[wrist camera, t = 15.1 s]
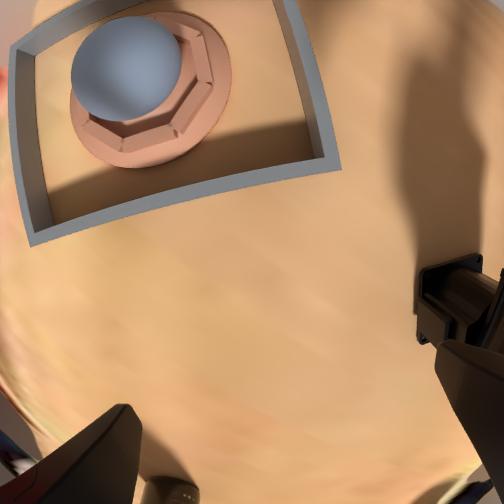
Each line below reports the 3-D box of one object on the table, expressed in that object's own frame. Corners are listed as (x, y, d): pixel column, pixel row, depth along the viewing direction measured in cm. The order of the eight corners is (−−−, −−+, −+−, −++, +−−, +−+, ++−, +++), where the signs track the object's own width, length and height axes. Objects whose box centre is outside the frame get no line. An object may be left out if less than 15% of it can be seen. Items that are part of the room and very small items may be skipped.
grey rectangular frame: (272, -33, 13) (274, -53, 11) (329, 170, 17) (341, 169, 15) (27, 53, 14) (10, 46, 12) (50, 239, 18) (30, 247, 16)
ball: (182, 31, 14) (161, -19, 8) (197, 112, 16) (178, 82, 10) (96, 61, 14) (50, 28, 8) (105, 141, 16) (53, 130, 10)
